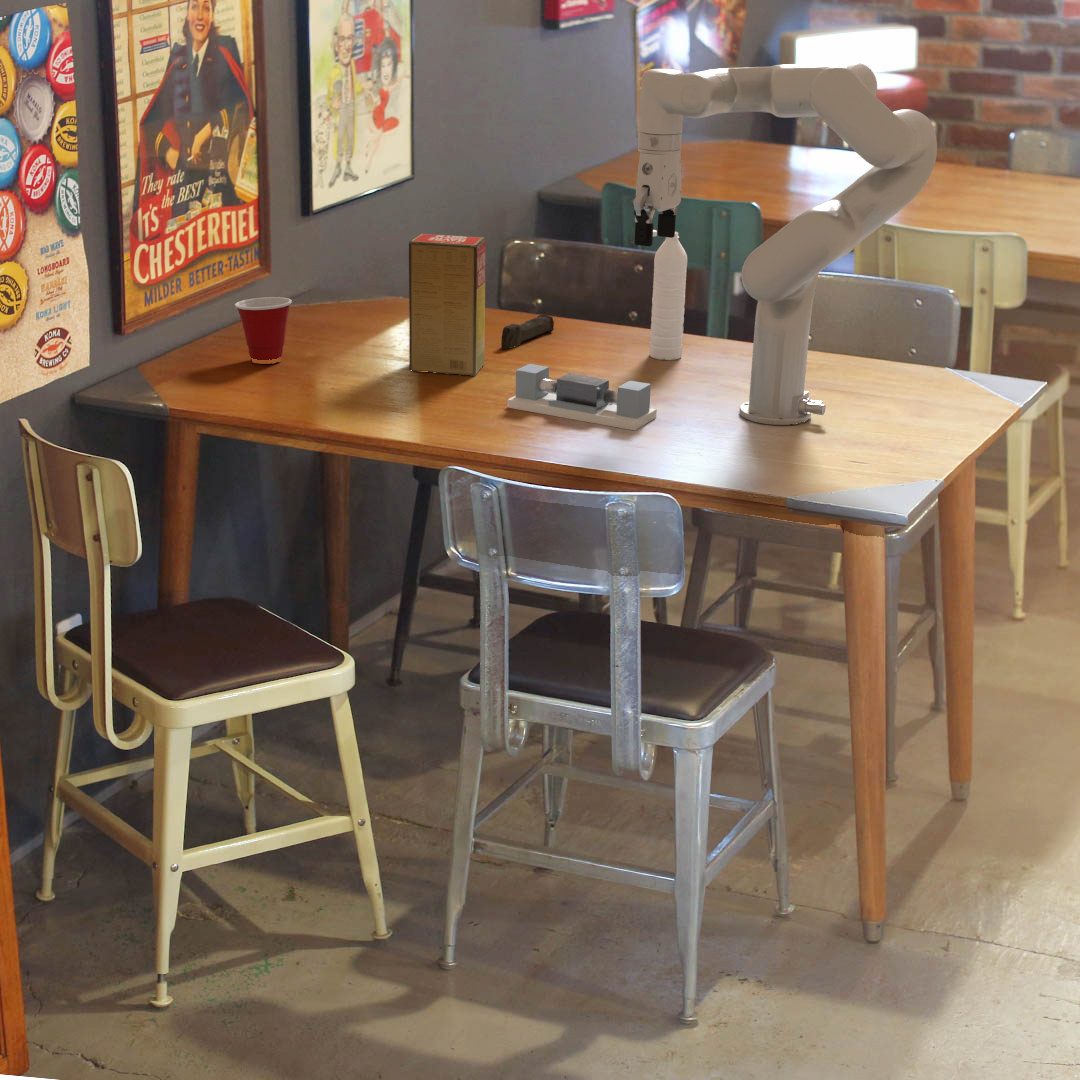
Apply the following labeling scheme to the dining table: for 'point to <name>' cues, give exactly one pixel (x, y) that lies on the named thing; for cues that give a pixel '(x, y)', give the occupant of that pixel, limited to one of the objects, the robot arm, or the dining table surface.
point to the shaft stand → (622, 409)
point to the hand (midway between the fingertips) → (654, 240)
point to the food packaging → (447, 304)
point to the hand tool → (526, 330)
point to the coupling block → (582, 390)
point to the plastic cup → (264, 325)
